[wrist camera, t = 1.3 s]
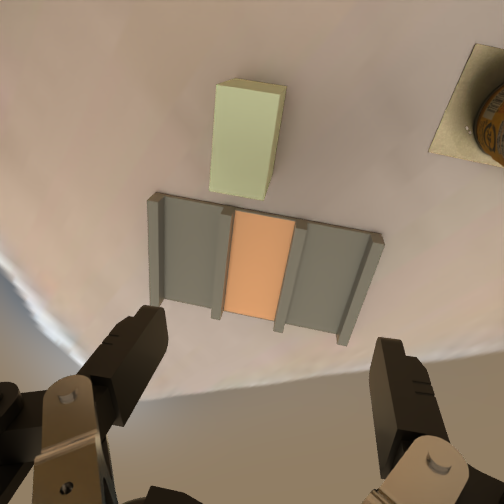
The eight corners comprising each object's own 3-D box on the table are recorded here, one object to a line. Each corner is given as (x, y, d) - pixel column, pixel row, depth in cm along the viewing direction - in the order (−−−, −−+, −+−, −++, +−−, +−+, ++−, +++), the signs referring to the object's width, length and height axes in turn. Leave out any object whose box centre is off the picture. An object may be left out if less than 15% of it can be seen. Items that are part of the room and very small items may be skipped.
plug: (226, 167, 30) (208, 190, 25) (235, 78, 27) (216, 84, 22) (272, 175, 30) (263, 200, 25) (286, 86, 26) (280, 94, 21)
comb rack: (157, 294, 39) (149, 305, 37) (155, 192, 32) (147, 200, 31) (345, 332, 37) (346, 346, 35) (381, 233, 31) (385, 244, 29)
